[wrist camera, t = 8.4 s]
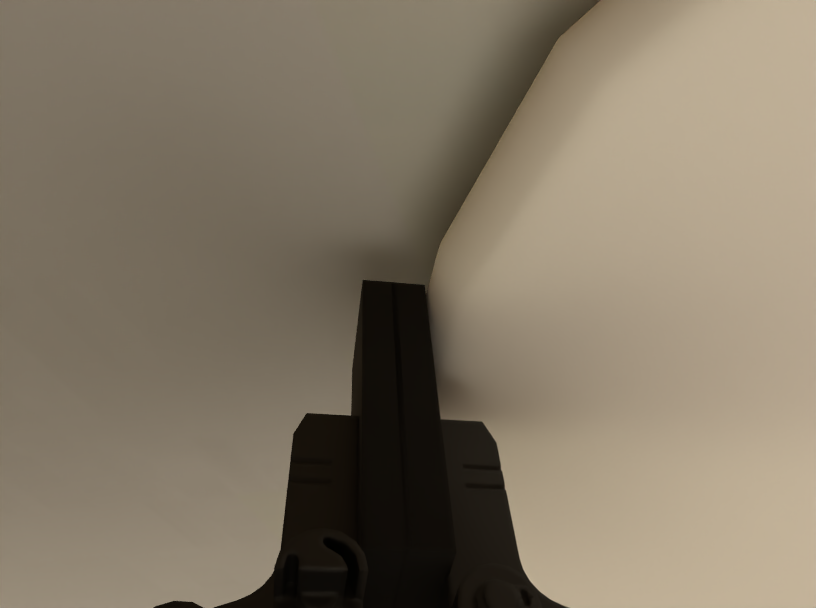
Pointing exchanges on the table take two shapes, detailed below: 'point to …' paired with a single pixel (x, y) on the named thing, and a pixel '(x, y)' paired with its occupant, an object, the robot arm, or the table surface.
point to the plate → (649, 308)
